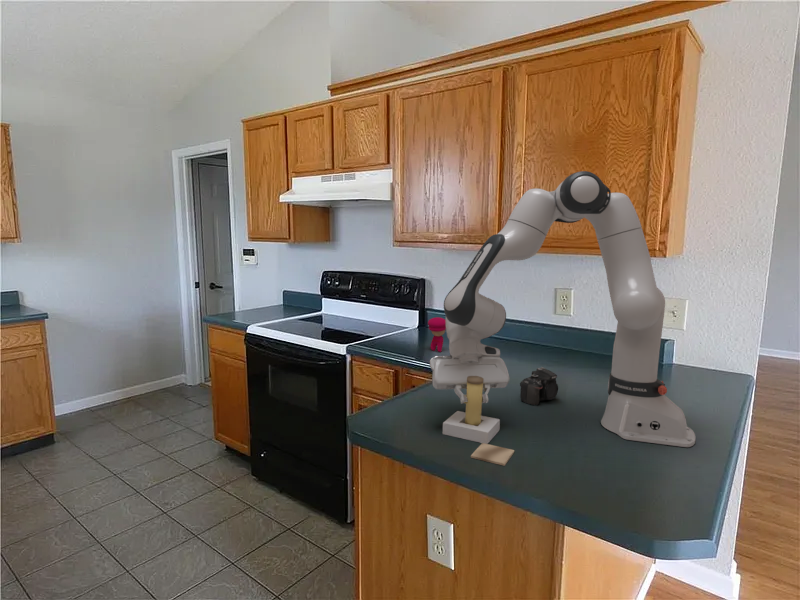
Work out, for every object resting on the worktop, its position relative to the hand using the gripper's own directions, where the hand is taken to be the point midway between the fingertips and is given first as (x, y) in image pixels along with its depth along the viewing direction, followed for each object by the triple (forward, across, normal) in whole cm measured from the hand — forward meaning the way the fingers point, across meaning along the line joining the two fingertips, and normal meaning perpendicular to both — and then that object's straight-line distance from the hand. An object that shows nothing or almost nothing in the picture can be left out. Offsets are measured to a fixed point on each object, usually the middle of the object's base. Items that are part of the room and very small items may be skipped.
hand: (474, 402), depth 125 cm
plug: (+5, 0, +6) cm, 8 cm away
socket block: (+5, 0, +7) cm, 9 cm away
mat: (+14, +2, -2) cm, 15 cm away
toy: (-57, +7, +69) cm, 90 cm away
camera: (-11, +28, +24) cm, 39 cm away
